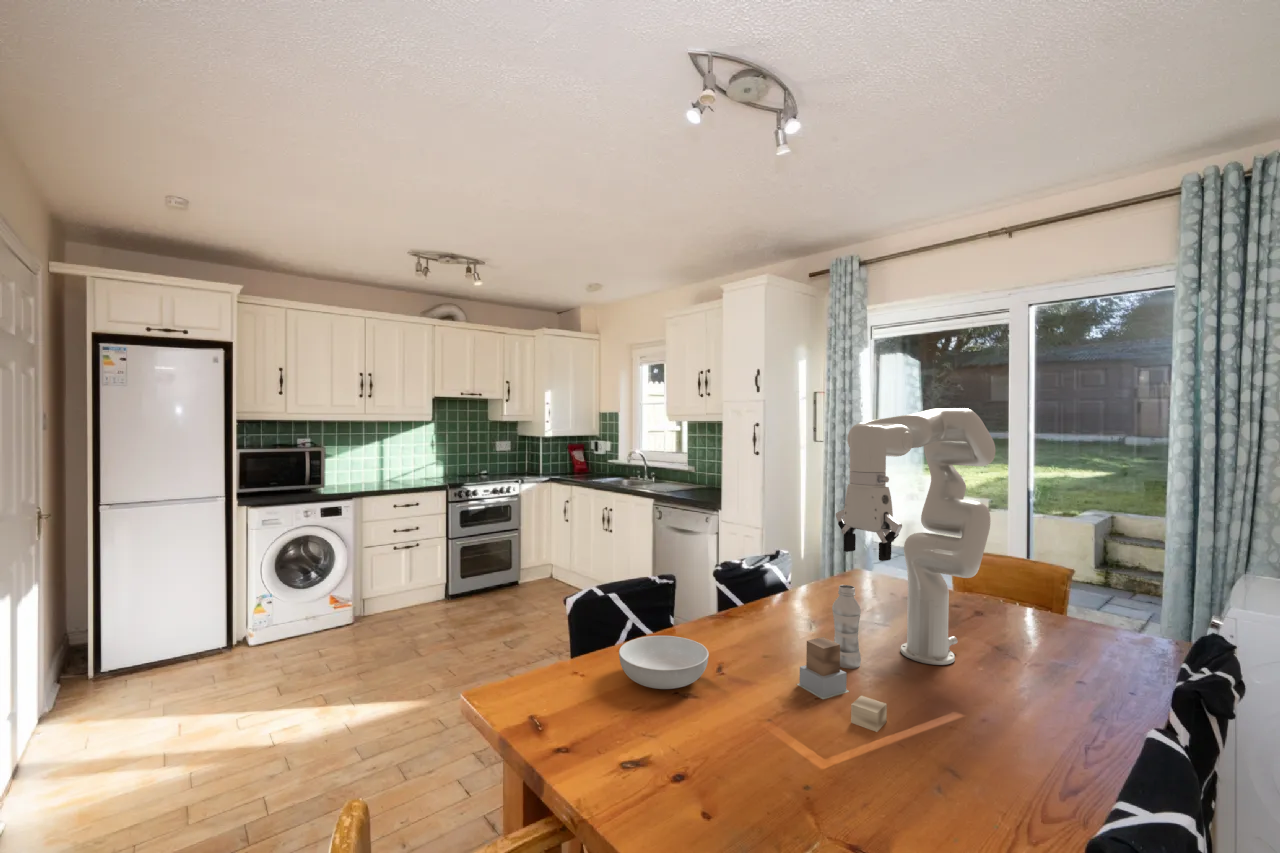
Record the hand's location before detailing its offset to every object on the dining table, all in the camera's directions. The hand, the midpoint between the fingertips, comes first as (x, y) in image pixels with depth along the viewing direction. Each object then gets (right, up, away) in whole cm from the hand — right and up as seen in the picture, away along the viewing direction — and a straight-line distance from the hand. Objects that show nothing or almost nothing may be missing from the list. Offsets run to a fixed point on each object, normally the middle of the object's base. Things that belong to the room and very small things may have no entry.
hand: (866, 555), depth 130 cm
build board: (-10, -30, -2) cm, 32 cm away
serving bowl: (-46, -30, +4) cm, 55 cm away
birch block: (-6, -31, -17) cm, 35 cm away
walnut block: (-10, -25, -2) cm, 27 cm away
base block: (-10, -29, -2) cm, 31 cm away
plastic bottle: (-1, -30, +11) cm, 32 cm away
